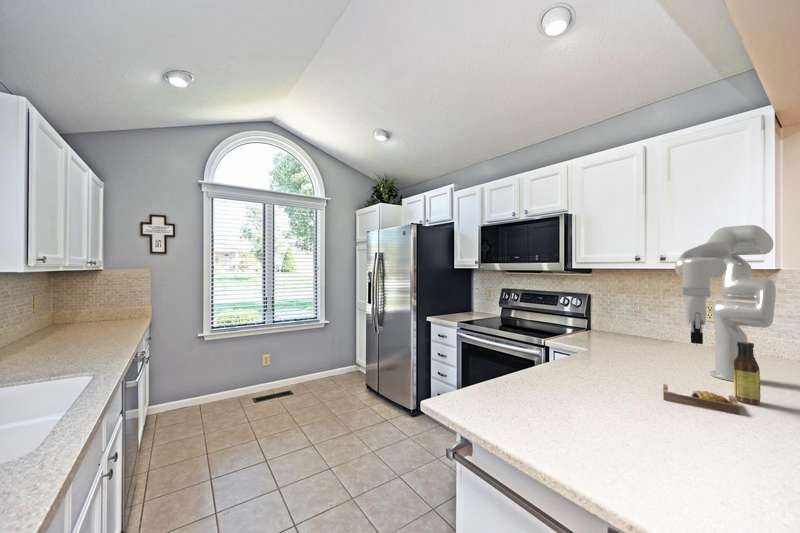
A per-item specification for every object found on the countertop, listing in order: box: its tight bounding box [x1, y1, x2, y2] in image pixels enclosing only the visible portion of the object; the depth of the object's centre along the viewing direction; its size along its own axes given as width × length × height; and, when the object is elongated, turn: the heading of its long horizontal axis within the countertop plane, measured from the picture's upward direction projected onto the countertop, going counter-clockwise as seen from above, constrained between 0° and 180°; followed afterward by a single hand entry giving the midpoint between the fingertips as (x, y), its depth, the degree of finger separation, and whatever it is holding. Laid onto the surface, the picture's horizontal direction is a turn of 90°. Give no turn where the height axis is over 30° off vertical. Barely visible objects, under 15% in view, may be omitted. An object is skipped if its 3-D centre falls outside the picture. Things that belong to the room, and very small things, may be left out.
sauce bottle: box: [733, 341, 761, 405], centre depth 114 cm, size 7×6×20 cm
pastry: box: [690, 390, 729, 403], centre depth 112 cm, size 9×7×4 cm
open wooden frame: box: [662, 383, 741, 415], centre depth 113 cm, size 11×18×2 cm, turn 52°
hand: (696, 343), depth 122 cm, fingers closed
